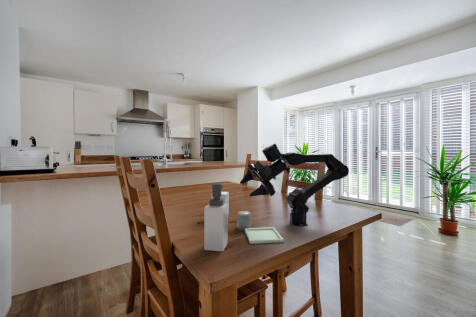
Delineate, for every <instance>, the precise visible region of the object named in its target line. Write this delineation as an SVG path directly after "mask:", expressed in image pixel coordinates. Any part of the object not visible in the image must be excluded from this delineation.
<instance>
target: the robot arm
mask: <svg viewBox="0 0 476 317" xmlns="http://www.w3.org/2000/svg"><path fill="white" fill-rule="evenodd" d="M261 152H262V153H263V156H264V158H265V159H266V160H267V162H268V163H269V162H270V163H271V164H270V165H268V164H265V165H264V164H262V162H261V161H260V160H257V161H256V162H255V163H254V164H253V163H249V164H248V165H247V166H246V167H247V168H246V169H247V171H246V174H245V175H244V176H243V178H242V179H241V180H240V182H239V184H240V185H243V184H245V183H247V182H250V181H253V180H254V179H255V178H256V179H258V180H259V181H260V183H261V184H260V185H259V186H258V187H257V188H256V189H254V190H253V191H251V193H249V194H248V195H249V197H256V196H267V197H268V196H269V197H273V196H274V195H275V193H276V190H275V187H274V185H273V183H271V180H274V181H275V180H276V179H277V176H279V175H281V173H285V174H290V170H291V167H288V166H293V167H294V166H295V167H296V166H298V165H299V166H300V165H302V164H307V163H309V164H310V163H324V164H325V167H326V168H327V170H326V172H325V173H324V174H323V175H321V176H320V177H319V178H317V179H315V180H314V181H313V182H312V183H309V184H308V185H307V186H305V187H304V188H302V189H298V188H294V190H292V191H291V192H288V195H287V196H286V203H287V204H288V205H289V209H290V212H289V222H290V223H291V224H292V225H293V226H295V227H296V226H297V227H298V226H308V225H309V224H308V223H307V213H308V212H309V210H310V207H309V206H308V205H307V203H308V200H309V199H310V197H312V196H314V195H315V194H316V193H318V192H319V191H321V190H322V189H323V188H325V187H327V186H328V185H329V184H331V183H332V182H334V181H338V180H342V179H343V178H346V177H347V176H348V175H349V173H350V172H349V167H348V166H347V165H346V164H344V163H343V162H342V161H341V160H339V159H337V158H336V157H335V155H333V154H331V153H324V154H321V153H320V154H304V153H303V154H302V153H297V152H286V153H281V151H280V150H279V147H278V145H277V144H276V143H273V144H272V145H269V146H267V147H265V148H263V149H262V150H261Z"/></svg>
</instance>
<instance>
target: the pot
mask: <svg viewBox="0 0 476 317" xmlns="http://www.w3.org/2000/svg"><path fill="white" fill-rule="evenodd" d="M236 214H237V216H236V218H237V220H236V222H237V225H236V226H237V227H236V229H237V230H239V231H245V228H252V213H251V212H250V211H247V210H246V211H245V210H242V211H241V210H240V211H238V213H236Z"/></svg>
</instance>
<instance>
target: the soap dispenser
mask: <svg viewBox="0 0 476 317" xmlns="http://www.w3.org/2000/svg"><path fill="white" fill-rule="evenodd" d="M211 186H212V189H211V190H212V193H211V194H212V197H214V198H213V199H211V198H210V199H209V203H208V204H207V205H206V206H204V209H203V210H204V211H203V212H204V213H203V214H204V218H203V219H204V220H203V221H204V227H203V228H204V229H203V230H204V234H203V235H204V239H203V240H204V242H203V243H204V245H203V246H204V251H213V252H224V250H225V248H226V247H227V245H228V241H229V240H228V238H229V237H228V231H229V229H228V225H229V224H228V222H229V221H228V220H229V219H228V217H229V214H228V204H225V203H224V202H223V199H220V197H221V192H222V189H223V184H222V183H221V182H219V183H218V182H217V183H215V182H213V183H211Z"/></svg>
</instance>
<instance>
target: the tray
mask: <svg viewBox="0 0 476 317" xmlns="http://www.w3.org/2000/svg"><path fill="white" fill-rule="evenodd" d="M244 233H245V236H246V237H247V239H248V242H249V244H250V245H252V244H256V245H257V244H274V243H285V242H284V240H285V239H284V238H283V237H282V236H281V234H280V233H279V232H278V230H277V228H276V227H275V226H273V227H272V226H269V227H251V228H245V230H244Z"/></svg>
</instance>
